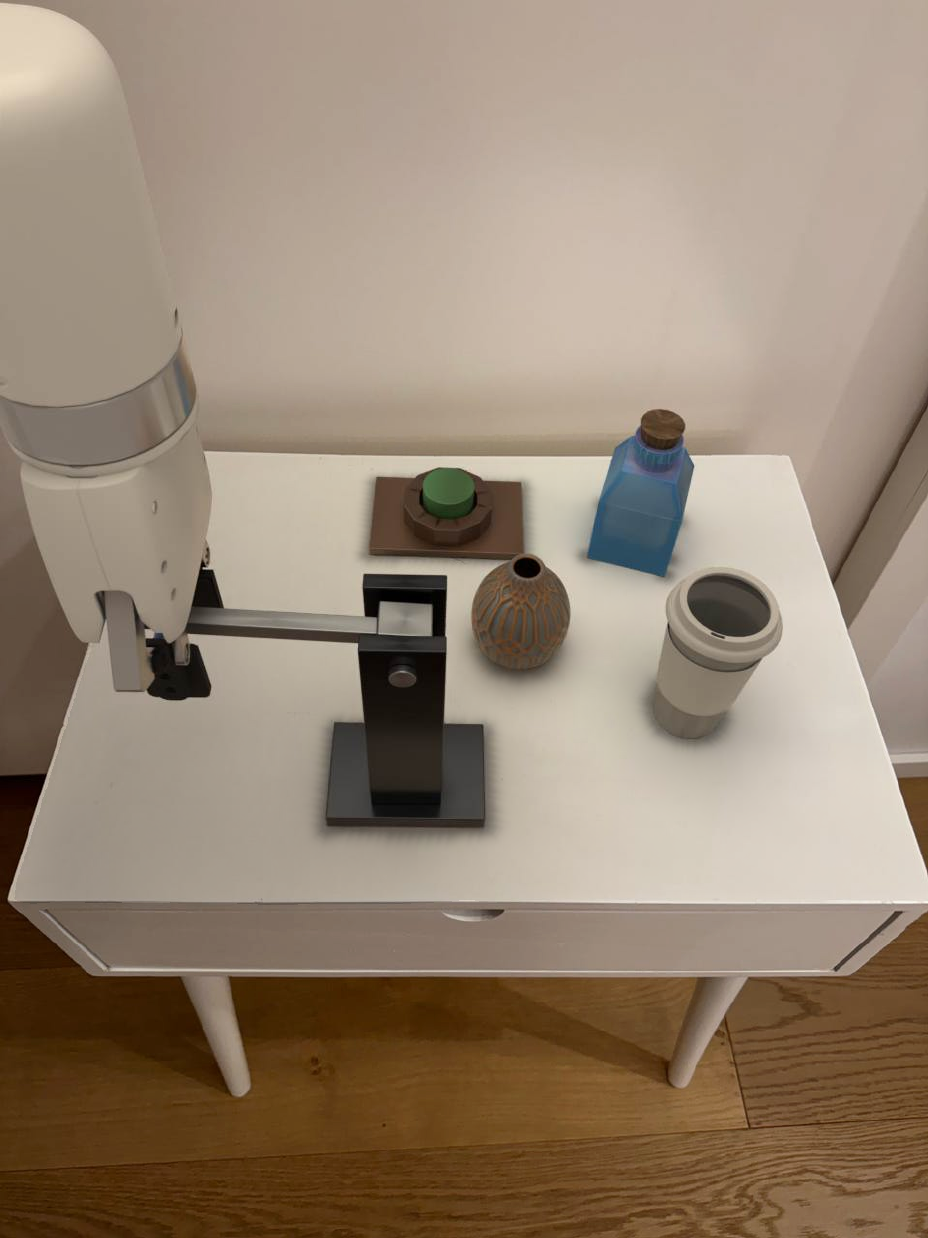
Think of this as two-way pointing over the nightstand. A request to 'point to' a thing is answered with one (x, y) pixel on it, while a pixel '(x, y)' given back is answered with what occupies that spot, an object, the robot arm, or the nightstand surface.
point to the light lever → (311, 623)
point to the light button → (448, 493)
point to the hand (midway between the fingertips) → (188, 653)
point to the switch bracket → (405, 727)
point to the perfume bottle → (644, 496)
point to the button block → (447, 521)
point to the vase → (521, 613)
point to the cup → (712, 647)
